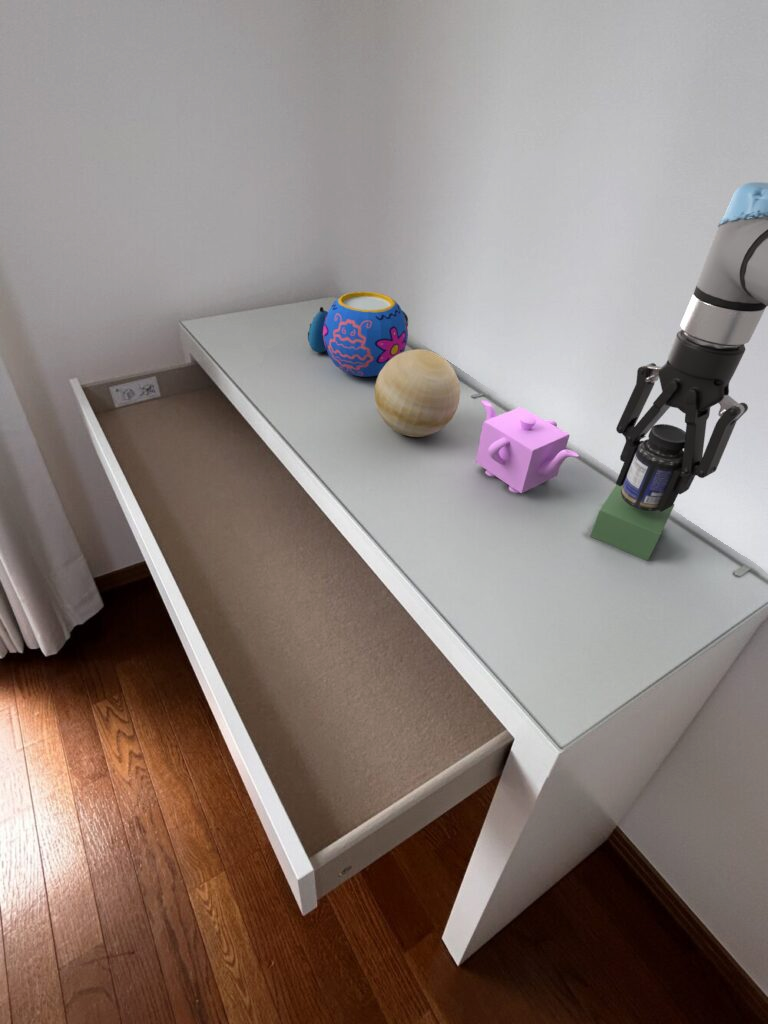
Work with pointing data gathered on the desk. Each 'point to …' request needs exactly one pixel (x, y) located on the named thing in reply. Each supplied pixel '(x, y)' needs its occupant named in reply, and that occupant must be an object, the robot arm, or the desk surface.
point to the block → (629, 525)
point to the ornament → (317, 332)
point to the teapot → (521, 448)
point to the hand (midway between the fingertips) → (643, 494)
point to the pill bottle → (653, 467)
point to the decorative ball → (417, 393)
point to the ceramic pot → (364, 332)
